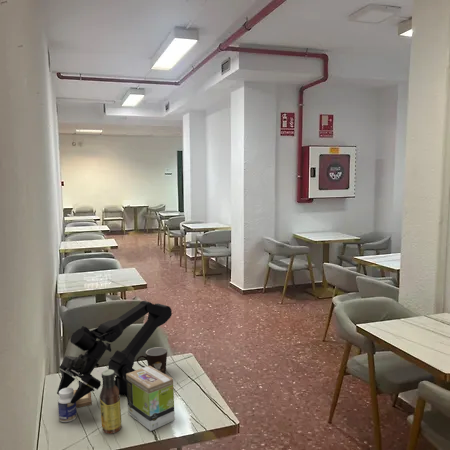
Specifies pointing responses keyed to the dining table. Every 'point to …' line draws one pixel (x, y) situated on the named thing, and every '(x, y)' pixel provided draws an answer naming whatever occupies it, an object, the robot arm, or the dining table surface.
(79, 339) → the robot arm
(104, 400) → the sauce bottle
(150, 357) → the coffee mug
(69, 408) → the pill bottle
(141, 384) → the tea box
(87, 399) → the stand
